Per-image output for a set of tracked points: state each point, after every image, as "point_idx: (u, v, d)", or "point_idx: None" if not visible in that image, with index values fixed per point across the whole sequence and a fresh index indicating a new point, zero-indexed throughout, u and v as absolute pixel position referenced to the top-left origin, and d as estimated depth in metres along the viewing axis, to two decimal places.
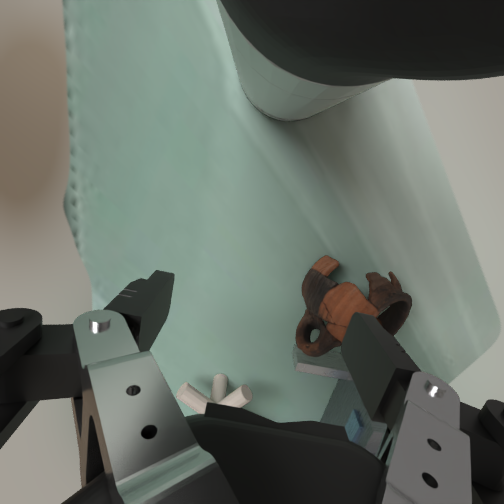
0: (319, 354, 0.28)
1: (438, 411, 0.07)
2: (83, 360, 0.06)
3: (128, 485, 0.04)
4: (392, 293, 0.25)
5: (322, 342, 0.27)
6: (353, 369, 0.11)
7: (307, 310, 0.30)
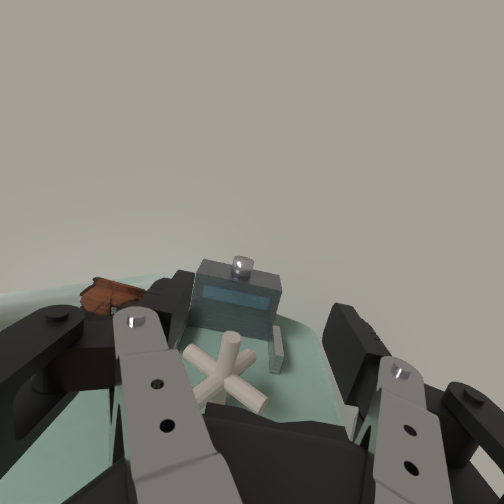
0: None
1: (407, 394, 0.07)
2: (117, 351, 0.07)
3: (142, 473, 0.04)
4: None
5: (127, 305, 0.35)
6: (331, 357, 0.12)
7: None
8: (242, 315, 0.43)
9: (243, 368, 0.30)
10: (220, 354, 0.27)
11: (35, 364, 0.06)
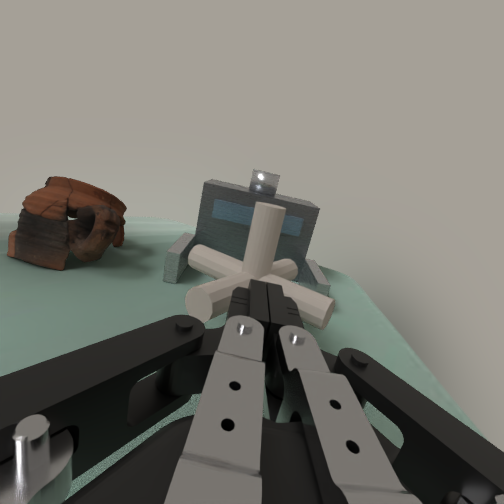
0: (111, 209, 0.24)
1: (311, 360, 0.08)
2: (219, 348, 0.07)
3: (191, 452, 0.04)
4: (45, 183, 0.27)
5: None
6: None
7: (70, 246, 0.24)
8: None
9: (283, 277, 0.19)
10: (252, 235, 0.16)
11: (153, 364, 0.07)
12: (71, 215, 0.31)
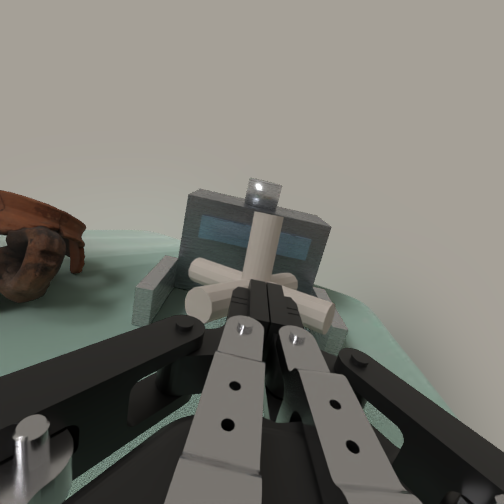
0: (53, 233, 0.18)
1: (310, 360, 0.08)
2: (219, 348, 0.07)
3: (191, 452, 0.04)
4: None
5: (27, 228, 0.18)
6: None
7: None
8: None
9: None
10: (251, 242, 0.17)
11: (153, 364, 0.07)
12: None
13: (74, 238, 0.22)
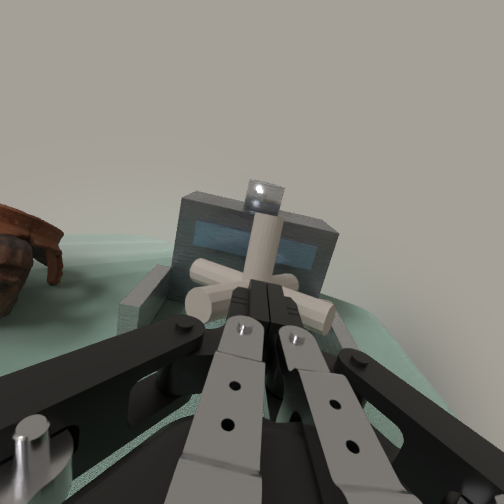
0: (17, 243, 0.15)
1: (311, 360, 0.08)
2: (219, 348, 0.07)
3: (191, 452, 0.04)
4: None
5: None
6: None
7: None
8: None
9: None
10: (252, 243, 0.17)
11: (153, 364, 0.07)
12: None
13: (48, 247, 0.19)
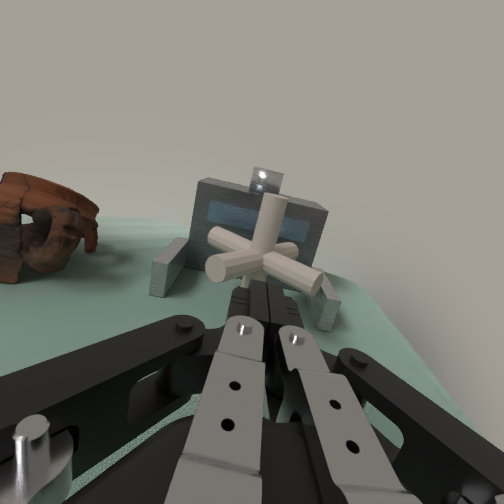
0: (74, 211, 0.20)
1: (311, 360, 0.08)
2: (219, 348, 0.07)
3: (191, 452, 0.04)
4: None
5: None
6: None
7: (24, 256, 0.20)
8: None
9: (285, 256, 0.23)
10: (260, 219, 0.20)
11: (153, 364, 0.07)
12: None
13: (89, 219, 0.24)
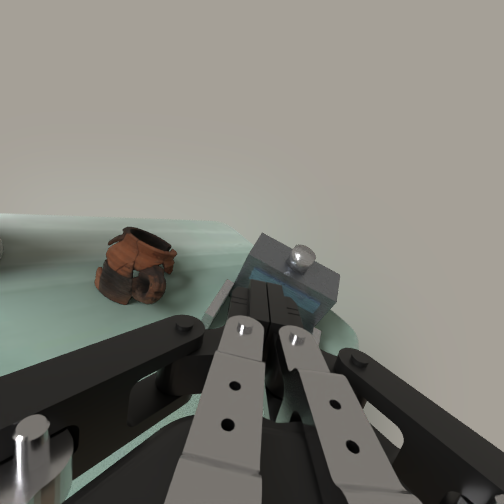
0: (161, 278, 0.33)
1: (310, 360, 0.08)
2: (219, 348, 0.07)
3: (191, 452, 0.04)
4: None
5: (149, 273, 0.33)
6: None
7: (132, 294, 0.34)
8: None
9: None
10: None
11: (153, 364, 0.07)
12: None
13: (169, 266, 0.37)
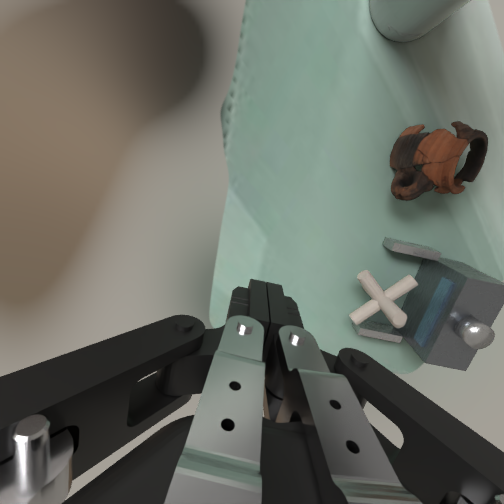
0: (416, 194, 0.35)
1: (310, 360, 0.08)
2: (219, 348, 0.07)
3: (191, 452, 0.04)
4: (476, 129, 0.32)
5: (419, 181, 0.34)
6: None
7: (398, 170, 0.37)
8: (417, 311, 0.42)
9: (386, 315, 0.40)
10: (391, 305, 0.37)
11: (153, 364, 0.07)
12: (470, 145, 0.36)
13: (439, 192, 0.36)
